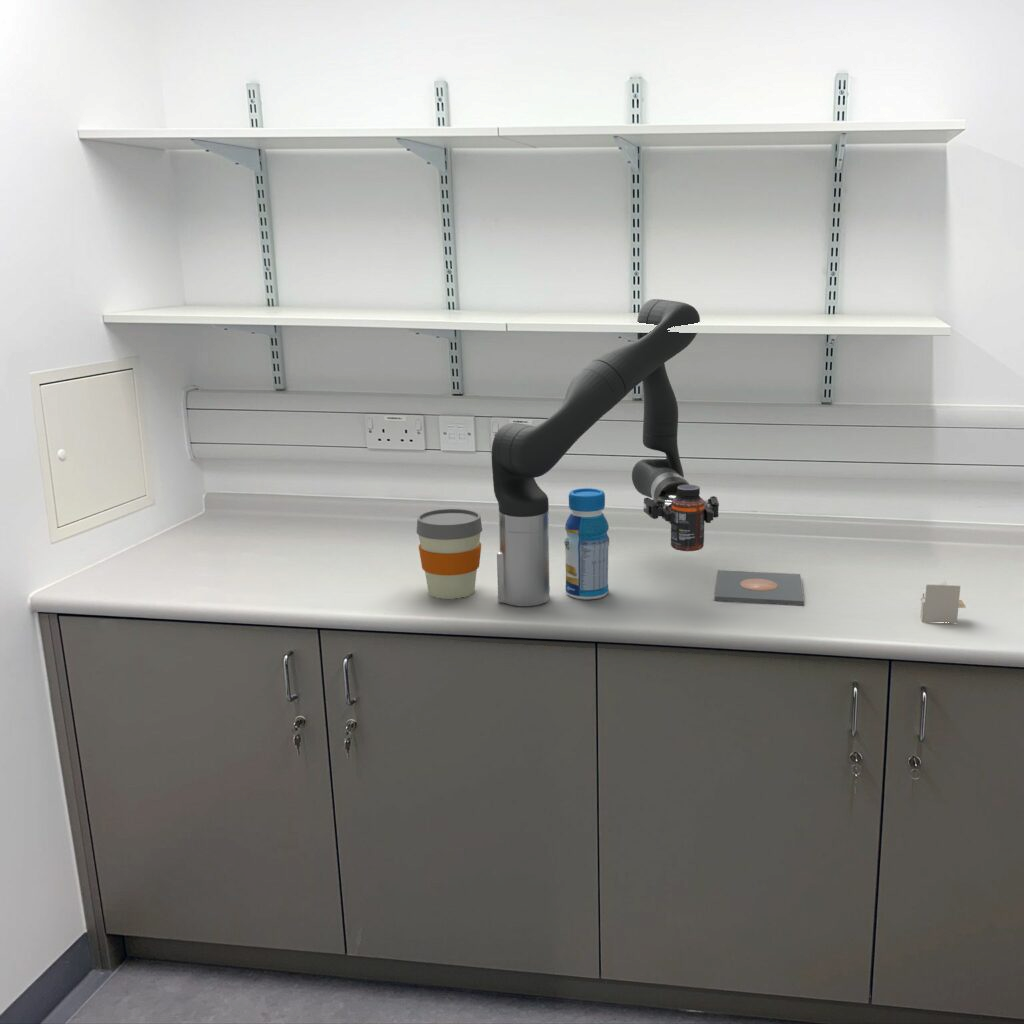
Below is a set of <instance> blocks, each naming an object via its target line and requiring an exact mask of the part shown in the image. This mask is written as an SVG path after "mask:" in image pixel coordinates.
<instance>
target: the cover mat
mask: <svg viewBox="0 0 1024 1024" xmlns="http://www.w3.org/2000/svg"><path fill="white" fill-rule="evenodd" d="M801 576H802V575H801V573H785V572H784V573H782V572H765V571H763V572H762V571H745V570H743V571H742V570H726V569H725V570H724V569H721V570H720V569H719V570H717V574H716V583H715V592H714V601H716V600H721V601H720V602H734V601H739V602H738V603H752V602H757V603H756V604H770V603H775V604H774V605H789V604H797V605H796V606H804V604H805V599H804V593H803V584H802V577H801ZM722 600H724V601H722ZM758 602H759V603H758ZM778 603H779V604H778Z"/></svg>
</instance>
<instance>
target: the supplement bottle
mask: <svg viewBox="0 0 1024 1024" xmlns="http://www.w3.org/2000/svg"><path fill="white" fill-rule="evenodd" d="M700 489H701V488H700V486H699V485H695V484H690V485H680V486H678V487H677V494H678V495H677V497H675V498H674V499H673V500H672V506H671V507H672V510H673V511H674V514H675V516H674V524H670V547H672V549H674V550H676V551H681V552H694V551H700V550H702V549H703V548H704V545H705V544H704V543H705V521H704V518H705V502H704V499H703V498H702V497H701V496H700V492H701V491H700Z"/></svg>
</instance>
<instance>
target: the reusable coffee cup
mask: <svg viewBox="0 0 1024 1024" xmlns="http://www.w3.org/2000/svg"><path fill="white" fill-rule="evenodd" d="M481 517H482V516H481V513H479V512H477V511H474V510H471V509H465V508H441V509H434V510H429V511H425V512H422V513H421V514H419V515H418V516H417V518H416V519H417V521H416V534H417V535H418V539H419V544H418V552H419V559H420V563H421V564H420V565H421V568H422V569H421V570H423V571H424V574H425V579H426V585H427V591H428V592H427V593H428V595H429V596H431V597H433V598H436V599H440V598H441V599H442V600H456V599H455V598H458V599H462V598H461V597H464V598H467V597H470V596H471V594H472V595H473V594H474V593H475V592H476V589H475V588H476V581H477V572H478V569H479V567H480V563H481V553H482V543H481V533H482V531H483V527H482V519H481ZM469 595H470V596H469ZM466 596H467V597H466Z"/></svg>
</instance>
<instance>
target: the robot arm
mask: <svg viewBox="0 0 1024 1024" xmlns="http://www.w3.org/2000/svg"><path fill="white" fill-rule="evenodd" d="M636 321H637V322H639V323H646V324H654V325H657V326H656V327H655V328H654V329H653V330H652V331H650V332H649V333H637V332H636V334H637V336H636V337H637V339H636V340H635V341H633V342H632V341H631V342H629V343H628V344H627V343H626V344H624V345H622V346H619V347H616V348H614V349H611V350H608V351H606V352H605V353H602V354H600V355H599V356H597V357H596V358H594V359H593V360H592V361H590V362H589V363H588V364H587V365H586V366H585V367H584V368H582V369H581V370H580V371H579V372H578V373H577V374H575V376H574V377H573V378H572V379H571V381H570V383H569V385H568V388H567V391H566V394H565V398H564V400H563V402H562V404H561V406H560V407H559V408H558V409H557V410H556V411H555V412H554V413H553V414H552V415H550V416H549V417H548V418H547V419H545V420H544V421H543V422H541V423H540V424H538V425H529V424H524V423H520V422H510V423H509V422H508V423H506V424H504V425H503V426H501V427H500V428H499V429H498V430H497V432H496V433H495V435H494V436H493V441H492V445H491V471H492V483H493V493H494V496H495V499H496V500H497V505H498V520H499V521H498V528H499V531H498V532H499V533H498V534H499V550H498V552H497V553H496V564H497V565H496V566H497V568H496V569H497V571H496V572H497V602H498V603H504V604H507V605H510V606H517V607H533V606H540V605H542V604H545V603H547V602H548V601H549V600H550V597H551V596H550V592H551V591H550V589H551V586H550V531H549V529H550V528H549V527H550V521H549V520H550V517H549V515H550V514H549V507H550V506H549V503H550V502H549V497H548V495H547V493H546V492H544V491H543V489H542V488H541V487H540V486H539V485H538V484H537V482H536V479H535V478H539V477H542V476H544V475H545V474H547V473H548V472H549V471H551V469H553V467H555V465H557V464H558V462H559V461H560V460H561V459H562V457H564V456H565V455H566V453H567V452H568V451H569V450H570V449H571V448H572V447H573V445H574V444H575V443H576V442H577V441H578V440H579V439H580V438H581V437H582V436H583V435H584V434H585V433H586V432H587V431H589V429H591V428H592V426H594V425H595V424H596V423H597V422H598V421H599V420H600V419H601V418H602V417H604V416H605V415H606V414H607V413H608V412H610V411H611V410H612V409H613V408H614V407H615V406H616V405H617V404H619V402H621V401H622V400H623V399H624V398H625V397H626V396H627V395H628V394H629V393H631V391H632V390H634V389H635V388H636V387H637V386H638V385H639V384H641V382H642V388H643V390H642V391H643V420H642V421H643V423H642V427H643V428H642V443H643V446H644V448H647V449H649V450H653V451H658V452H661V453H664V454H665V455H666V457H665V458H655V459H654V458H646V459H641V460H639V461H637V462H636V463H635V464H634V466H633V468H632V471H631V481H632V484H633V486H634V488H635V490H636V491H637V492H638V493H639V494H640V495H642V496H644V498H643V512H644V513H645V514H646V515H647V516H648V517H650V518H651V519H653V520H656V519H659V517H661V519H662V520H664V521H665V522H668V523H669V524H670V525H671V524H674V516H675V514H674V511H673V510H672V507H671V506H672V500H673V499H674V498H675V497H677V495H678V494H677V487H678V486H680V485H691V484H690V483H689V482H688V480H686V479H685V476H684V470H683V466H682V462H681V458H680V453H679V447H678V445H679V444H678V428H679V406H678V401H677V398H676V395H675V392H674V389H673V387H672V385H671V382H670V380H669V376H668V373H667V368H666V365H665V363H666V362H667V361H669V360H670V359H673V358H674V357H675V356H676V355H678V354H679V353H680V352H682V351H684V350H685V349H686V348H687V347H688V346H689V345H691V343H692V342H693V341H694V340H695V338H696V336H697V334H698V332H697V333H679V332H668V331H670V330H667V329H668V328H671V327H673V326H674V327H675V326H681V325H688V324H694V323H698V322H700V323H701V317H700V314H699V312H698V310H697V309H696V308H695V307H694V306H692V305H691V304H688V303H686V302H683V301H677V300H669V299H659V298H654V299H653V298H652V299H650V300H647V301H646V302H645V303H644V304H643V305H642V306H641V308H640V310H639V312H638V315H637V320H636ZM637 322H636V323H637ZM703 500H704V499H703ZM704 502H705V518H704V523H706V524H711V522H712V521H714V519H716V518H719V508H720V507H719V506H720V504H719V503H720V502H719V500H718V497H717V496H713V495H712V496H709V498H707V500H704Z"/></svg>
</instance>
